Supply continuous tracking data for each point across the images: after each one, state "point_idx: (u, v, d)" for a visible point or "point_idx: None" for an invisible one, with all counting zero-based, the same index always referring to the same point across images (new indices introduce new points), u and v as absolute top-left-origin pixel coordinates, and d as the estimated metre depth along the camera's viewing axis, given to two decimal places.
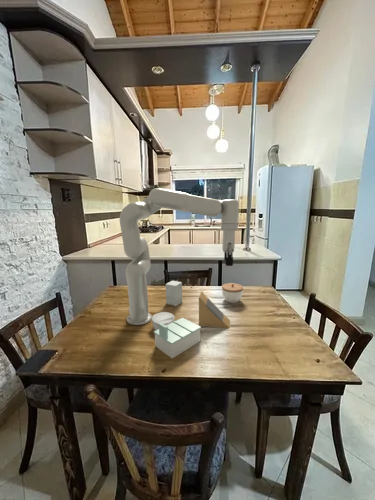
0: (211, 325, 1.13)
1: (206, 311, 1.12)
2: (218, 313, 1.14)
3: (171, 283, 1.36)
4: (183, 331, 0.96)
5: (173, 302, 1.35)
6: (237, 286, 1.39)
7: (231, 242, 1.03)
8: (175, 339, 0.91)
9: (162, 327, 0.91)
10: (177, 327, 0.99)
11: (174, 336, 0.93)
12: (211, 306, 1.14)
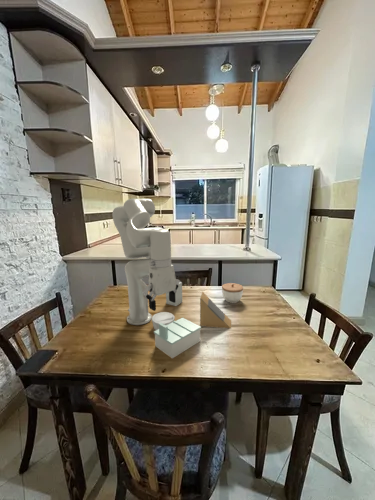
0: (212, 325, 1.12)
1: (207, 312, 1.11)
2: (219, 313, 1.14)
3: None
4: (183, 331, 0.96)
5: None
6: (237, 286, 1.39)
7: None
8: (175, 339, 0.91)
9: (162, 327, 0.91)
10: (177, 327, 0.99)
11: (174, 336, 0.93)
12: (212, 306, 1.13)
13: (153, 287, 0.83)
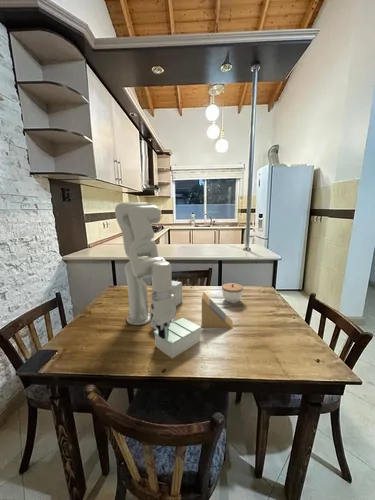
0: (214, 326, 1.12)
1: (209, 312, 1.11)
2: (221, 313, 1.13)
3: None
4: (183, 331, 0.96)
5: None
6: (237, 286, 1.39)
7: None
8: (175, 339, 0.91)
9: None
10: (177, 327, 0.99)
11: (174, 336, 0.93)
12: (214, 307, 1.13)
13: (154, 318, 0.86)
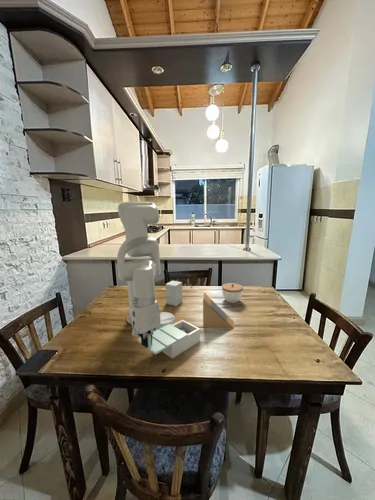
0: (216, 326, 1.11)
1: (210, 313, 1.10)
2: (222, 314, 1.13)
3: (171, 283, 1.36)
4: (168, 339, 0.91)
5: (173, 302, 1.35)
6: (237, 286, 1.39)
7: None
8: (159, 348, 0.85)
9: None
10: (162, 334, 0.94)
11: (158, 344, 0.88)
12: (215, 307, 1.13)
13: (136, 326, 0.81)
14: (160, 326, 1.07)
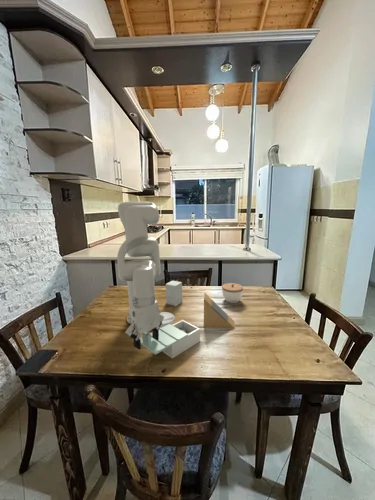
0: (216, 326, 1.11)
1: (211, 313, 1.10)
2: (223, 314, 1.13)
3: (171, 283, 1.36)
4: (168, 339, 0.91)
5: (173, 302, 1.35)
6: (237, 286, 1.39)
7: None
8: (159, 348, 0.85)
9: (145, 335, 0.86)
10: (162, 334, 0.94)
11: (158, 344, 0.88)
12: (216, 307, 1.12)
13: (135, 326, 0.81)
14: (160, 326, 1.07)
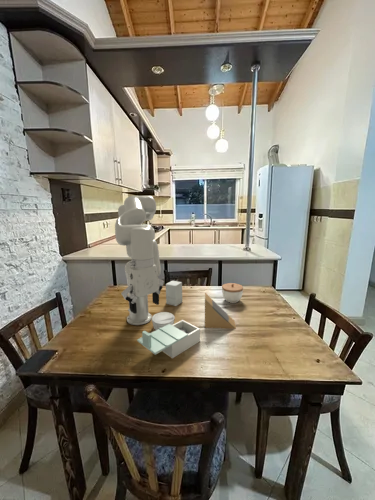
0: (217, 327, 1.11)
1: (212, 313, 1.10)
2: (224, 314, 1.13)
3: (171, 283, 1.36)
4: (168, 339, 0.91)
5: (173, 302, 1.35)
6: (237, 286, 1.39)
7: None
8: (159, 348, 0.85)
9: (145, 335, 0.86)
10: (162, 334, 0.94)
11: (158, 344, 0.88)
12: (217, 307, 1.12)
13: (133, 289, 0.78)
14: (160, 326, 1.07)
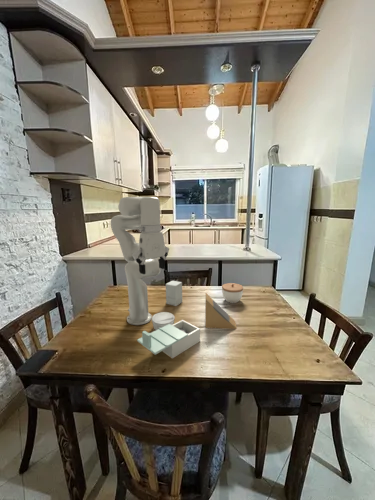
0: (218, 327, 1.11)
1: (213, 313, 1.10)
2: (224, 314, 1.13)
3: (171, 283, 1.36)
4: (168, 339, 0.91)
5: (173, 302, 1.35)
6: (237, 286, 1.39)
7: None
8: (159, 348, 0.85)
9: (145, 335, 0.86)
10: (162, 334, 0.94)
11: (158, 344, 0.88)
12: (217, 307, 1.12)
13: (143, 251, 0.88)
14: (160, 326, 1.07)
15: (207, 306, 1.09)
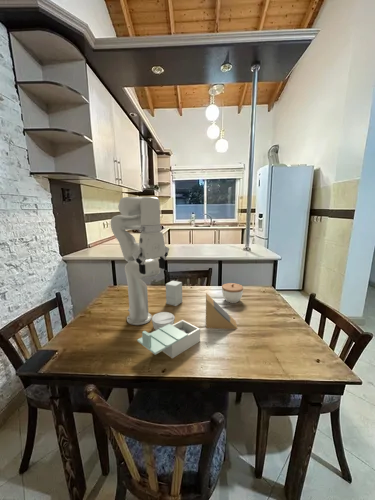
0: (219, 327, 1.11)
1: (214, 313, 1.10)
2: (225, 314, 1.12)
3: (171, 283, 1.36)
4: (168, 339, 0.91)
5: (173, 302, 1.35)
6: (237, 286, 1.39)
7: None
8: (159, 348, 0.85)
9: (145, 335, 0.86)
10: (162, 334, 0.94)
11: (158, 344, 0.88)
12: (218, 308, 1.12)
13: (143, 251, 0.88)
14: (160, 326, 1.07)
15: (208, 306, 1.09)
